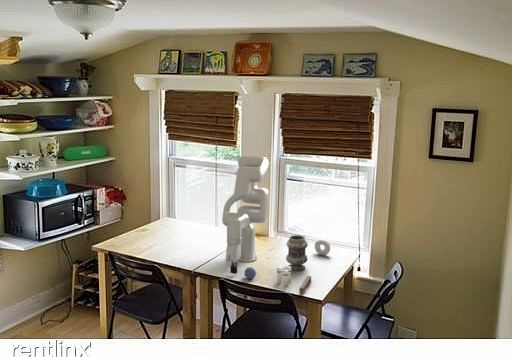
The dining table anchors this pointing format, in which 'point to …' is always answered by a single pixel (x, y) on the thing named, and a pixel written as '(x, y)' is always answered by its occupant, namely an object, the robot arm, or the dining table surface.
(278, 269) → the front pin
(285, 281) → the pin
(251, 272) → the ball
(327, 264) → the dining table surface
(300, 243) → the grey brown vase
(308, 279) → the grey brown bar
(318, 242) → the donut
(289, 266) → the pin
